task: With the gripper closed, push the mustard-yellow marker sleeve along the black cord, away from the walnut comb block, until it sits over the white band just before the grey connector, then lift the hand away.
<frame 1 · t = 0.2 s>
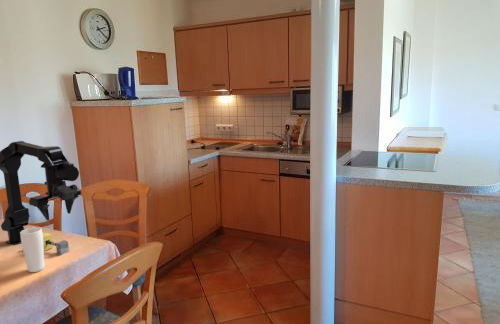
hand: (58, 216, 146), 14 cm above the table, tool pointing down, fingers open, 9 cm apart
sleeve: (43, 241, 149), point 3 cm above the table, slide at 0.0 cm
cord fixture: (48, 249, 149), on the table
drinking glass: (36, 269, 132), on the table
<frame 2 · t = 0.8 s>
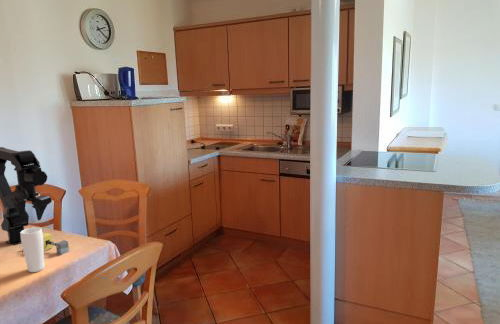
hand: (30, 218, 150), 12 cm above the table, tool pointing down, fingers open, 9 cm apart
nothing on the table moved.
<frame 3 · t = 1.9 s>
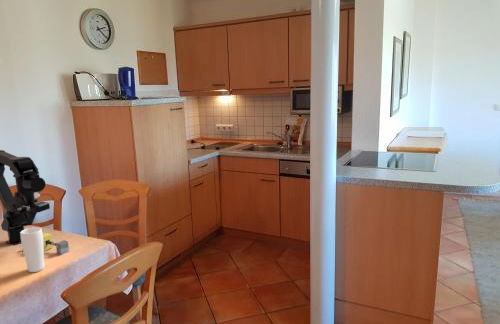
hand: (30, 225, 150), 10 cm above the table, tool pointing down, fingers closed
nothing on the table moved.
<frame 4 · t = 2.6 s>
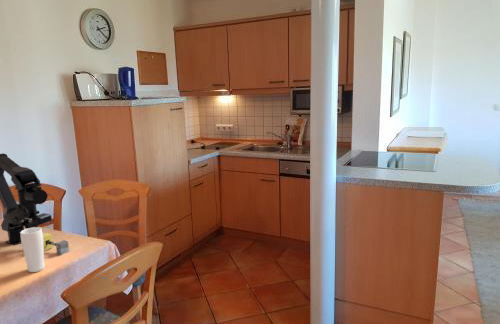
hand: (32, 236, 151), 5 cm above the table, tool pointing down, fingers closed
nothing on the table moved.
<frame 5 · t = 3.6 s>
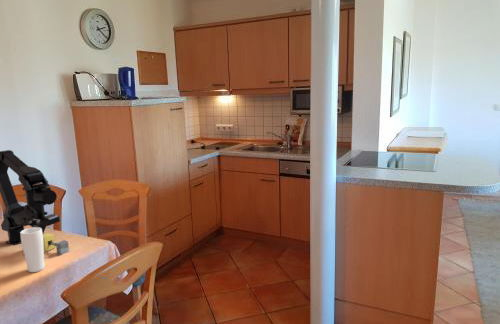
hand: (40, 237, 149), 5 cm above the table, tool pointing down, fingers closed
sleeve: (46, 242, 148), point 3 cm above the table, slide at 1.4 cm, touching gripper
everything else where it was.
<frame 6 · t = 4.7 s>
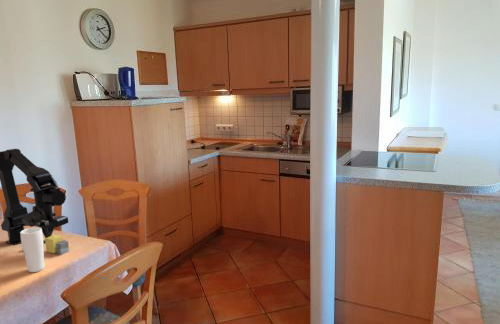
hand: (48, 239, 148), 5 cm above the table, tool pointing down, fingers closed
sleeve: (54, 243, 147), point 3 cm above the table, slide at 6.0 cm, touching gripper
everything else where it was.
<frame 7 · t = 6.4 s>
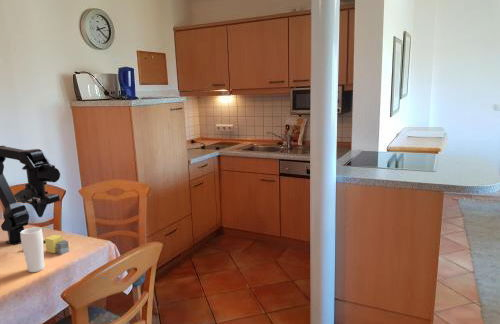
hand: (40, 216, 151), 13 cm above the table, tool pointing down, fingers closed
sleeve: (54, 243, 147), point 3 cm above the table, slide at 6.0 cm
everything else where it was.
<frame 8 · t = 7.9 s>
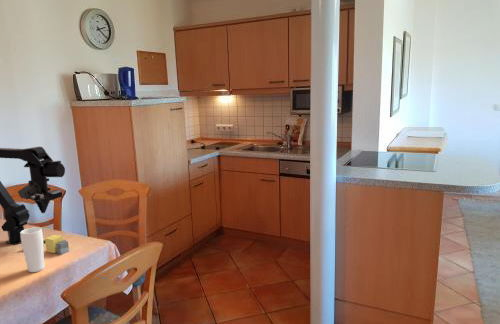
hand: (43, 212, 155), 13 cm above the table, tool pointing down, fingers closed
nothing on the table moved.
at the end: sleeve slide at 6.0 cm; the gripper is holding nothing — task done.
